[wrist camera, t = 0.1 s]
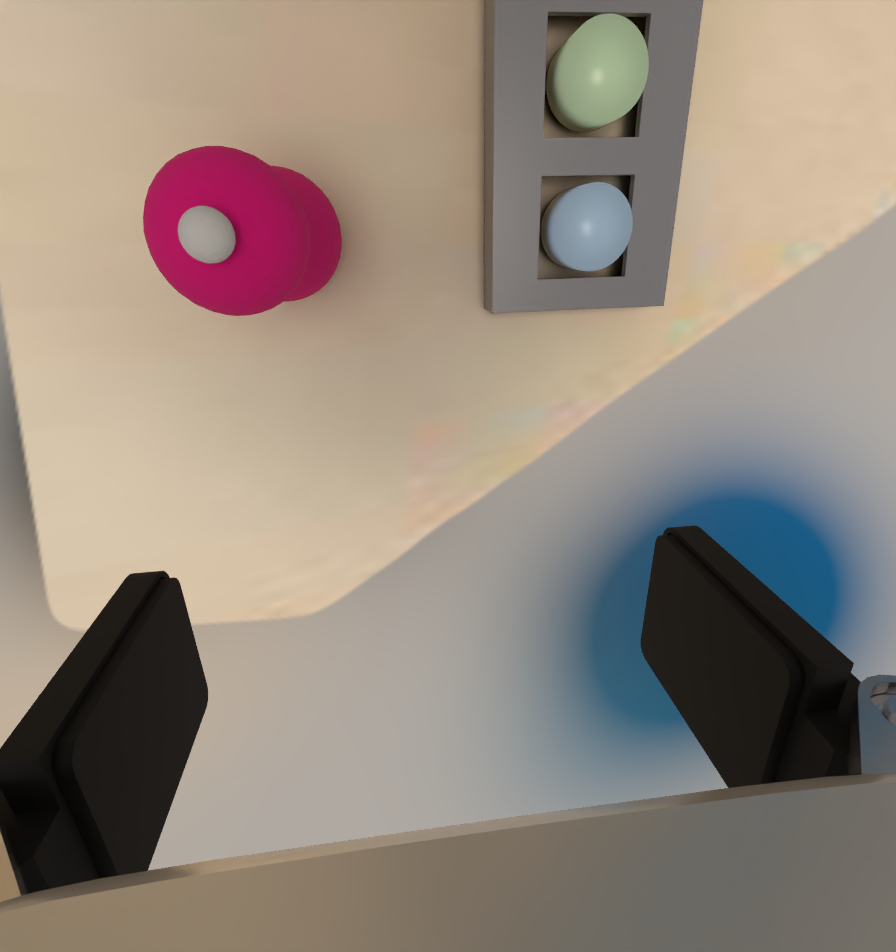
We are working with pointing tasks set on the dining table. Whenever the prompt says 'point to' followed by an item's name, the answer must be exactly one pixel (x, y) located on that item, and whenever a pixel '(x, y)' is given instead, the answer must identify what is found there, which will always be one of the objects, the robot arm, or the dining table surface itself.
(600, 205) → the blue button
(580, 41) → the sage button
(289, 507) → the dining table surface
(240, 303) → the pepper mill
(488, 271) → the button panel
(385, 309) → the dining table surface
